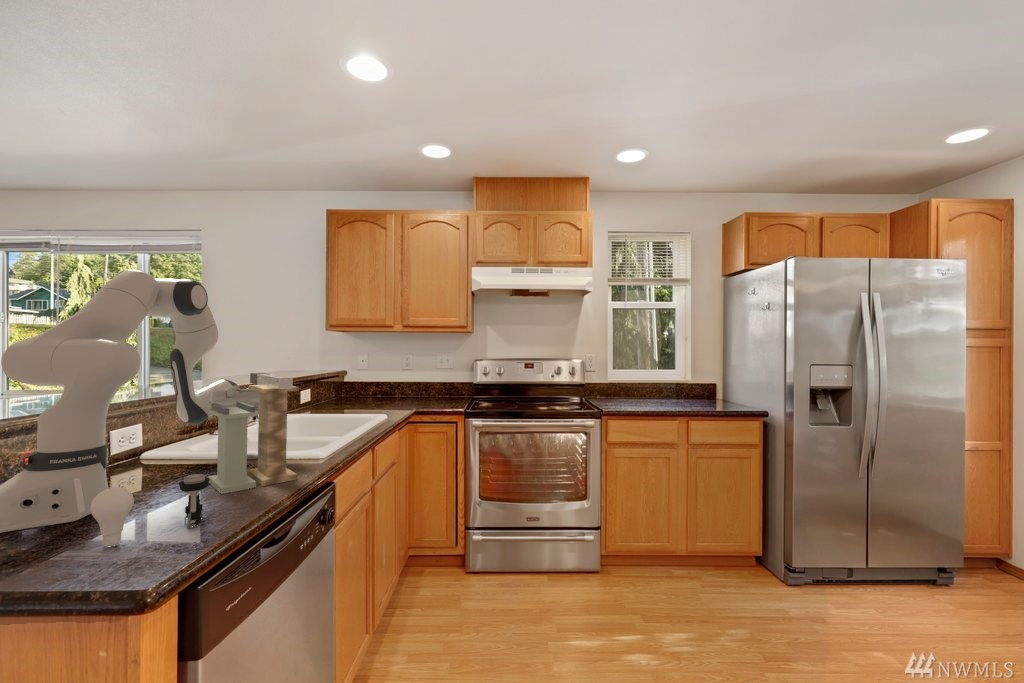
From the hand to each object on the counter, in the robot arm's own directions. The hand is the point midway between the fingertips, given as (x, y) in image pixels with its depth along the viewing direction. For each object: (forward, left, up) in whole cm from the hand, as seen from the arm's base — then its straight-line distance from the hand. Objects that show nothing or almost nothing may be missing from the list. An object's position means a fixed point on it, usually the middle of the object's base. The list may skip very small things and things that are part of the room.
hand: (254, 386), depth 141 cm
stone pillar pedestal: (0, -17, -25) cm, 30 cm away
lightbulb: (-36, -44, -25) cm, 62 cm away
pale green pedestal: (-10, -17, -25) cm, 32 cm away
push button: (-23, -42, -25) cm, 54 cm away
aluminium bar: (0, -15, +1) cm, 15 cm away
